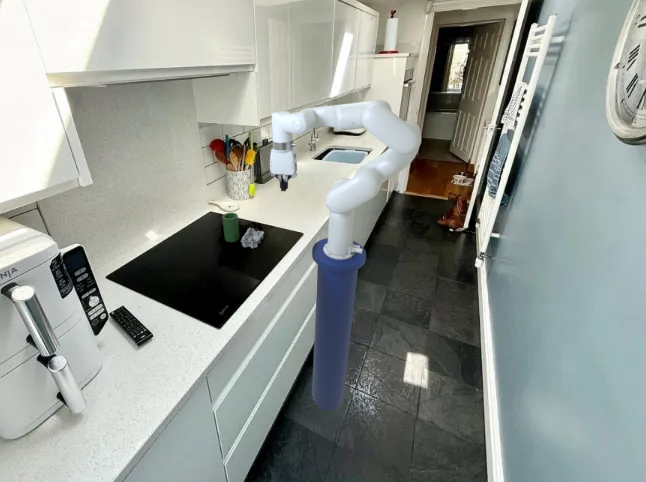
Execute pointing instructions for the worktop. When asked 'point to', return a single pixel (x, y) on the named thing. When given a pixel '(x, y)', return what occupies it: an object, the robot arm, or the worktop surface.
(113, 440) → the worktop surface
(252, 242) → the egg carton
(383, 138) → the robot arm
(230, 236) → the green hollow cylinder
